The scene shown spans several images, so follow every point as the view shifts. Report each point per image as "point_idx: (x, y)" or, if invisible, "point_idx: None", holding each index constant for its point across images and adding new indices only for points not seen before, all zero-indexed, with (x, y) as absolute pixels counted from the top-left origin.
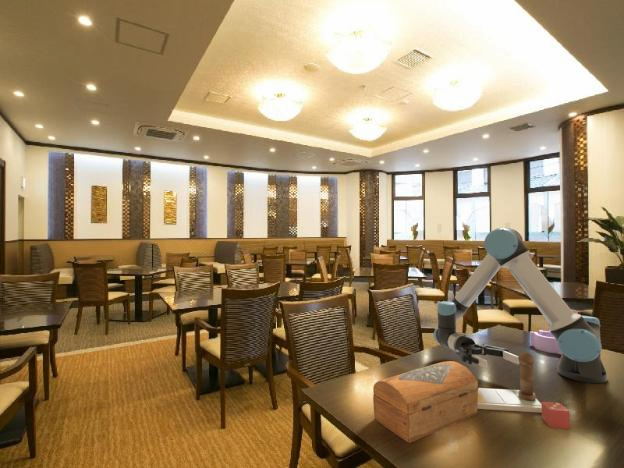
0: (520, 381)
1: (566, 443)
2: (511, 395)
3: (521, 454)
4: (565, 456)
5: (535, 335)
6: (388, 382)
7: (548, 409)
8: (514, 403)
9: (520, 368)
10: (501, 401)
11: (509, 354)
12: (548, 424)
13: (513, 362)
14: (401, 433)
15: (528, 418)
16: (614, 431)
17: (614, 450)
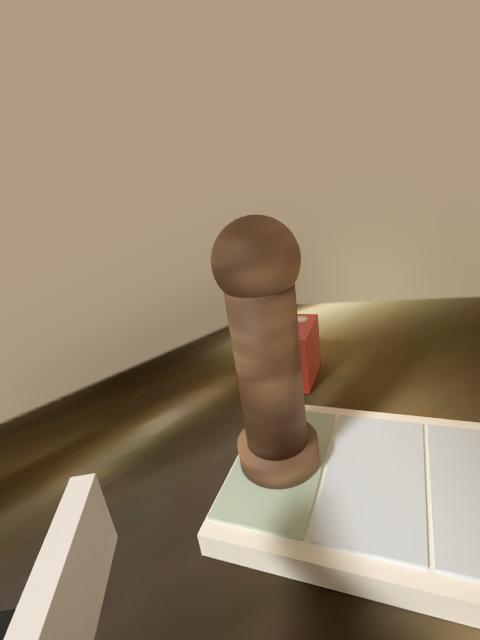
0: (302, 390)
1: (329, 329)
2: (349, 484)
3: (463, 307)
4: (365, 308)
5: None
6: None
7: (316, 321)
8: (379, 422)
9: (296, 315)
10: (439, 438)
11: (62, 590)
12: (318, 367)
13: (106, 583)
14: None
15: (359, 395)
16: (167, 355)
17: None
